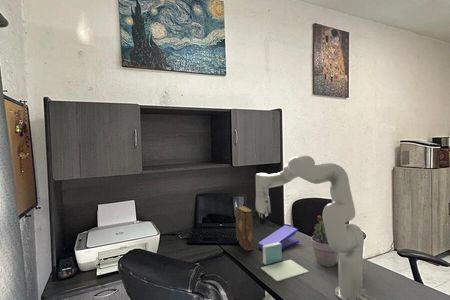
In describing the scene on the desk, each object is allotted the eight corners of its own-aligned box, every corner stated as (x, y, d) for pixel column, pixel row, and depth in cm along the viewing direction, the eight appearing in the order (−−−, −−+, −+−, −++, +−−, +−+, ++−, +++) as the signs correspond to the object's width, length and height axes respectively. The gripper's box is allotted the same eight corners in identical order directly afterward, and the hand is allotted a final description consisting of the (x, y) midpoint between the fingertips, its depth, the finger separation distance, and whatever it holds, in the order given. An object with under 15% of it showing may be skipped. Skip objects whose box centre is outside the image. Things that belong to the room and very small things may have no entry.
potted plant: (333, 275, 131) (332, 226, 130) (302, 261, 147) (301, 217, 146) (353, 265, 141) (352, 219, 140) (322, 252, 157) (321, 212, 156)
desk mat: (308, 272, 135) (308, 271, 135) (277, 281, 127) (277, 280, 127) (290, 260, 149) (290, 259, 149) (260, 268, 140) (260, 267, 140)
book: (254, 249, 165) (253, 210, 164) (246, 251, 163) (245, 212, 162) (243, 240, 180) (242, 205, 179) (236, 241, 178) (235, 206, 177)
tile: (282, 260, 149) (281, 243, 148) (265, 265, 144) (265, 247, 144) (279, 258, 151) (278, 242, 151) (263, 263, 147) (262, 245, 146)
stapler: (299, 242, 175) (299, 228, 174) (271, 254, 158) (270, 238, 157) (286, 237, 184) (286, 224, 183) (258, 248, 167) (257, 233, 167)
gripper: (274, 195, 149) (275, 226, 150) (260, 190, 163) (261, 219, 164) (263, 196, 146) (264, 228, 147) (250, 192, 160) (251, 221, 161)
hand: (262, 223), depth 155 cm, fingers closed
